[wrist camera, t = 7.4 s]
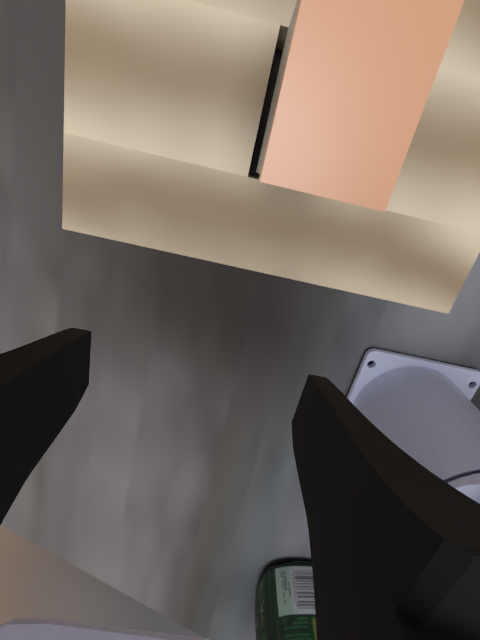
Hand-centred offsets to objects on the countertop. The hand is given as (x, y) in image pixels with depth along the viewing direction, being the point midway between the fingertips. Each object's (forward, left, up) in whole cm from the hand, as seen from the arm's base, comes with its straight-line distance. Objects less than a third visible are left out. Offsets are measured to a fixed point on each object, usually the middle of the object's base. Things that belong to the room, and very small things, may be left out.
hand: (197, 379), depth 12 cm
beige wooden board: (+9, -2, -10) cm, 14 cm away
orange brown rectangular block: (+9, -2, -7) cm, 12 cm away
